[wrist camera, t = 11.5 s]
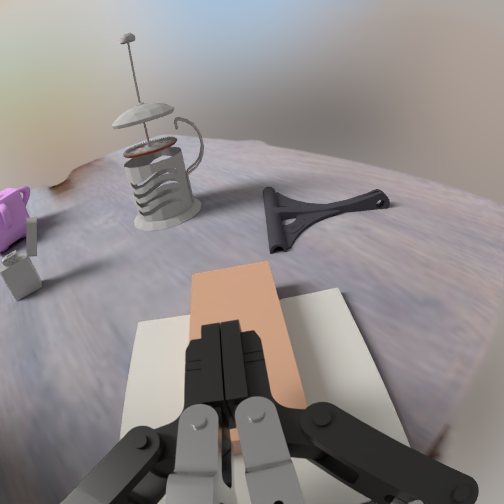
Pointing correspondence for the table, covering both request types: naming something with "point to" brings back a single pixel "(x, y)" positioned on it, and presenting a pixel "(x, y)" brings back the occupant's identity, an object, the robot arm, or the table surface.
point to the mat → (310, 371)
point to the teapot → (13, 215)
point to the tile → (249, 323)
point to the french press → (157, 168)
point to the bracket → (309, 214)
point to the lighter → (22, 266)
